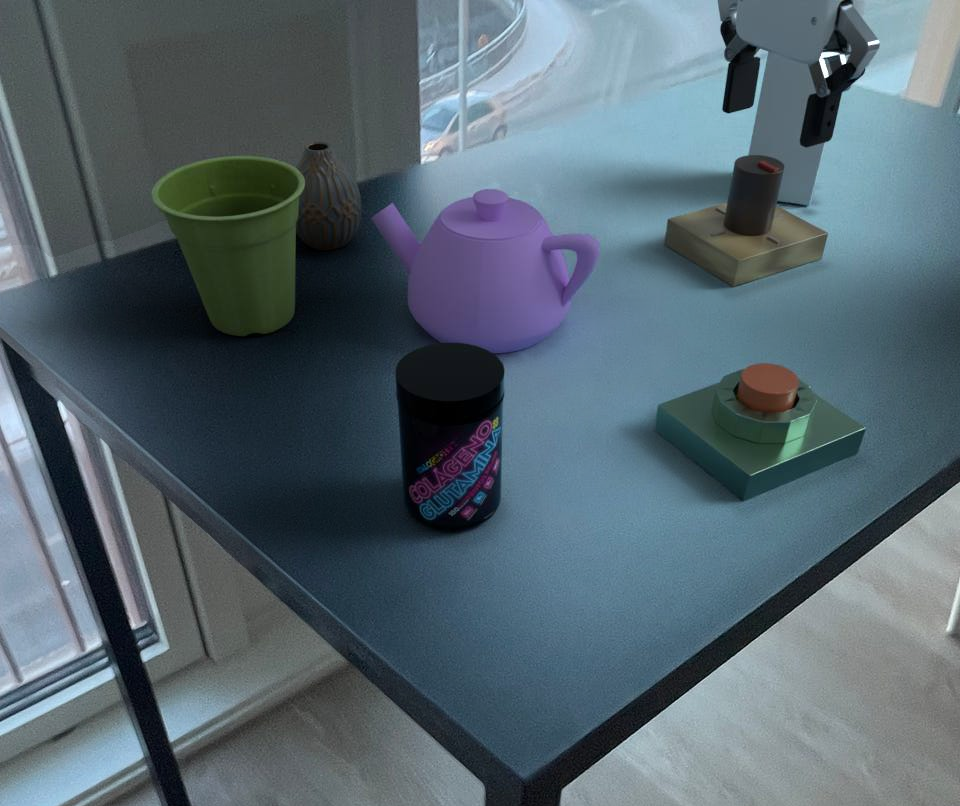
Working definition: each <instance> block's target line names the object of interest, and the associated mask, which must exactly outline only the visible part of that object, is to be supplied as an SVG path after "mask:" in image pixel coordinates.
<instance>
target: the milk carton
mask: <svg viewBox="0 0 960 806" xmlns="http://www.w3.org/2000/svg"><path fill="white" fill-rule="evenodd" d="M847 56H848V55H846V56H845V59H846V60H847ZM825 65H826V68H827V71H828V75H829V76H830V75H831V74H832V71H831V68H830V65H829V62H828V63H825ZM763 71H764V72H763V77H762V82H761V87H760V91H759V92H760V93H759V98H758V102H757V107H756V108H757V109H756V113H755V119H754V124H753V129H752V135H751V139H750V143H749V144H750V145H749V149H748V155H762V156H768V157H772V158H775V159H777V160H779V161H781V162H782V163H783V164H784V167H785V168H784V172H783V177H782V181H781V186H780V190H779V195H778V200H777V202H781V203H787V204H796V205H803V206H811V204H812V200H813V195H814V193H815V188H816V184H817V179H818V176H819V171H820V167H821V164H822V159H823V156H824V155H823V154H824V151H825V146H826V143H827V142H825V143H821V144H818V145H814V146H811V147H807V148H806V147H803V146H801V145H800V136H801V131H802V126H803V121H804V116H805V111H806V106H807V101H808V97H809V95H811V94H815V93H816V90H815V87H814V84H813V80H812V77H811V73H810V70H809V67H808V64H802V63H799V62H796V61H793V60H790V59H787V58H785V57H782V56H779V55H776V54H773V53H771V52H768V51H767V56H766V61H765V67H764V70H763Z"/></svg>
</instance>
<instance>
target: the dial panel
mask: <svg viewBox="0 0 960 806" xmlns="http://www.w3.org/2000/svg"><path fill="white" fill-rule="evenodd" d="M726 207H727V202H723V203H720V204H716V205H713V206H709V207H705V208H702V209H698V210H694V211H692V212H688V213H684V214H680V215H676V216H674V217H670V218H667V222H666V230H665V237H664V242H663V243H664V245H665V246H666V247H667V248H670V249H671V250H673V251H674V252H676V253H677V254H679V255H681V256H683V257H684V258H686V259H687V260H689V261H690V262H692V263H693V264H695V265H697V266H699V267H700V268H702V269H703V270H705V271H707V272H708V273H710V274H712V275H713V276H715V277H716V278H717V279H720V280H721V281H723V282H724V283H726V284H728V285H729V286H731V287H733V288H735V287H737V286H740V285H744V284H746V283H750V282H752V281H756V280H759V279H762V278H766V277H768V276H771V275H774V274H778V273H781V272H784V271H788V270H791V269H794V268H796V267H799V266H803V265H805V264H810V263H813V262H815V261H819V260H821V259H823V255H824V252H825V248H826V245H827V240H828V236H829V232H827V231H826V230H824V229H822V228H820V227H817V226H816V225H814V224H812V223H811V222H809V221H807V220H805V219H803V218H801V217H799V216H797V215H795V214H793V213H792V212H790V211H787V210H786V209H784V208H782V207H780V206H778V205H776V209H775V213H774V218H773V223H772V227H771V230H770V231H769V232H767V233H764V234H761V235H743V234H738V233H735V232H732V231H730V230H729V229H727V228H726V227H725V225H724V218H725V213H726Z"/></svg>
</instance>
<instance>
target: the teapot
mask: <svg viewBox="0 0 960 806" xmlns="http://www.w3.org/2000/svg"><path fill="white" fill-rule="evenodd" d="M370 219H371V221H372V222H373V224H374V225H375V227H376V229H377V230H378V231H379V233H380V234H381V236H382V237H383V239H384V240H385V242H386V244H387V245H388V246H389V247H390V250H391V251H392V252H393V253H394V255H395V256H396V258H397V259H398V261H399V263H400V264H401V265H402V267H403V268H404V270H405V271H406V272H407V274H408V276H409V277H408V283H407V305H408V309H409V311H410V313H411V315H412V318H413V319H414V320H415V321H416V322H417V323H418V324H419V326H421V328H422V329H423V330H424V331H425V332H426V333H428V334H429V336H431V337H432V338H433V339H435V340H436V341H437V342H438V343H464V344H470V345H474V346H478V347H481V348H483V349H486V350H488V351H490V352H491V353H493V354H507V353H513V352H517V351H522V350H525V349H528V348H531V347H533V346H534V345H537V344H538V343H540V342H542V341H543V340H545V339H546V338H547V337H548V336H549V335H551V334H552V333H553V332H554V331H556V329H557V328H558V327H559V326H560V324H561V323H562V322H563V321H564V320H565V318H566V317H567V315H568V313H569V311H570V308H571V306H572V304H571V303H572V301H571V300H572V298H573V297H574V296H575V295H576V294H577V293H578V291H579V290H580V289H581V288H582V287H583V285H584V284H585V283H586V282H587V280H588V279H589V277H590V276H591V275H592V273H593V272H594V270H595V268H596V266H597V262H598V260H599V256H600V251H601V246H600V243H599V242H598V240H597V238H595V237H594V236H592V235H589V234H584V233H566V234H564V233H563V234H557V235H554V233H553V231H552V229H551V227H550V226H549V224H548V223H547V221H546V219H545V218H544V217H543V215H542V213H540V211H539V210H538V209H537V208H535V207H534V206H533V205H532V204H529V202H528V203H527V202H526V201H523V200H520V199H517V198H513V197H509V195H508V193H507V192H505V191H502V190H499V189H496V188H487V189H486V188H485V189H481V190H478V191H476V192H474V193H473V195H472V196H470V197H466V198H461V199H460V200H456V201H454V202H452V203H450V204H449V205H447V206H446V207H445V208H443V209H442V211H441V212H440V213H439V214H438V215H437V217H436V218H435V220H434V221H433V222H432V224H431V225H430V228H429V229H428V231H427V232H426V235H425V236H424V238H423V239H422V241H421V243H420V241H419V240H418V239H417V237H416V236H415V234H414V232H413V230H412V229H411V228H410V226H409V224H407V222H406V221H405V219H404V218H403V216H402V215H401V212H399V210H398V208H397V206H396V205H395V204H394V203H393V202H391V203H390V204H389V205H387V206H386V207H384V208H383V209H382V210H380V211H378V212H377V213H375V214H374V215H373V216H371V218H370ZM562 250H568V251H572V252H574V253H575V254H576V263H575V266H574V269H573V271H572V275H571V276H570V272H569V268H568V263H567V261H566V258H565V255H564V253H563V251H562Z"/></svg>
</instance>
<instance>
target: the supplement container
mask: <svg viewBox="0 0 960 806" xmlns="http://www.w3.org/2000/svg"><path fill="white" fill-rule="evenodd" d="M394 372H395V374H394V375H395V396H396V397H395V399H396V401H397V413H398V416H397V417H398V428H399V445H400V460H401V461H400V462H401V463H400V464H401V477H402V478H401V479H402V496H403V503H404V506H405V508H406V510H407V513H408V514H409V515H410V516H411V517H412V518H413V519H414V520H415V521H417V522H418V523H419V524H421V525H422V526H424V527H427V528H429V529H432V530H435V531H439V532H445V533H447V532H448V533H456V532H464V531H469V530H472V529H475V528H477V527H479V526H482V525H483V524H485V523H486V522H488V521H489V520H490V519H491V518H492V517H493V516H494V515H495V513H496V512H497V510H498V508H499V506H500V504H501V500H502V471H503V470H502V465H503V427H504V424H503V423H504V399H505V366H504V364H503V362H502V360H501V359H500V358H499V357H498V356H497V355H496V354H495V353H491V352H490V351H488V350H486V349H483V348H481V347H478V346H474V345H470V344H464V343H441V342H436V343H431V344H427V345H423V346H420V347H418V348H415V349H413V350H412V351H409V352H408V353H406V354H404V356H402V357H401V358H400V359H399V361H398V363H397V364H396V366H395V371H394Z"/></svg>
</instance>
